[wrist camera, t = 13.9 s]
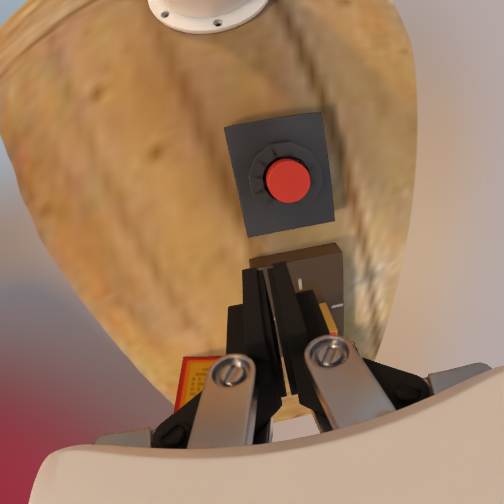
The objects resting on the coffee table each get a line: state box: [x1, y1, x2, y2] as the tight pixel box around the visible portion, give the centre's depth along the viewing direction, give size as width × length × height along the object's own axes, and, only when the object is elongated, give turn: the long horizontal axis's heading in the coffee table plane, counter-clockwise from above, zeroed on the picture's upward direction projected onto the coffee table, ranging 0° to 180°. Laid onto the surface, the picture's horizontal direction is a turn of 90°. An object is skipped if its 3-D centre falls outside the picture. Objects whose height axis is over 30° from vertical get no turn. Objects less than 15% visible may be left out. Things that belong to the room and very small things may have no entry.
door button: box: [266, 159, 310, 203], centre depth 23 cm, size 4×4×2 cm
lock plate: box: [249, 243, 344, 357], centre depth 33 cm, size 14×10×3 cm
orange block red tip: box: [319, 302, 338, 335], centre depth 30 cm, size 6×2×5 cm, turn 101°
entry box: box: [224, 112, 335, 237], centre depth 25 cm, size 11×9×4 cm
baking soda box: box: [174, 356, 222, 413], centre depth 33 cm, size 10×6×16 cm
